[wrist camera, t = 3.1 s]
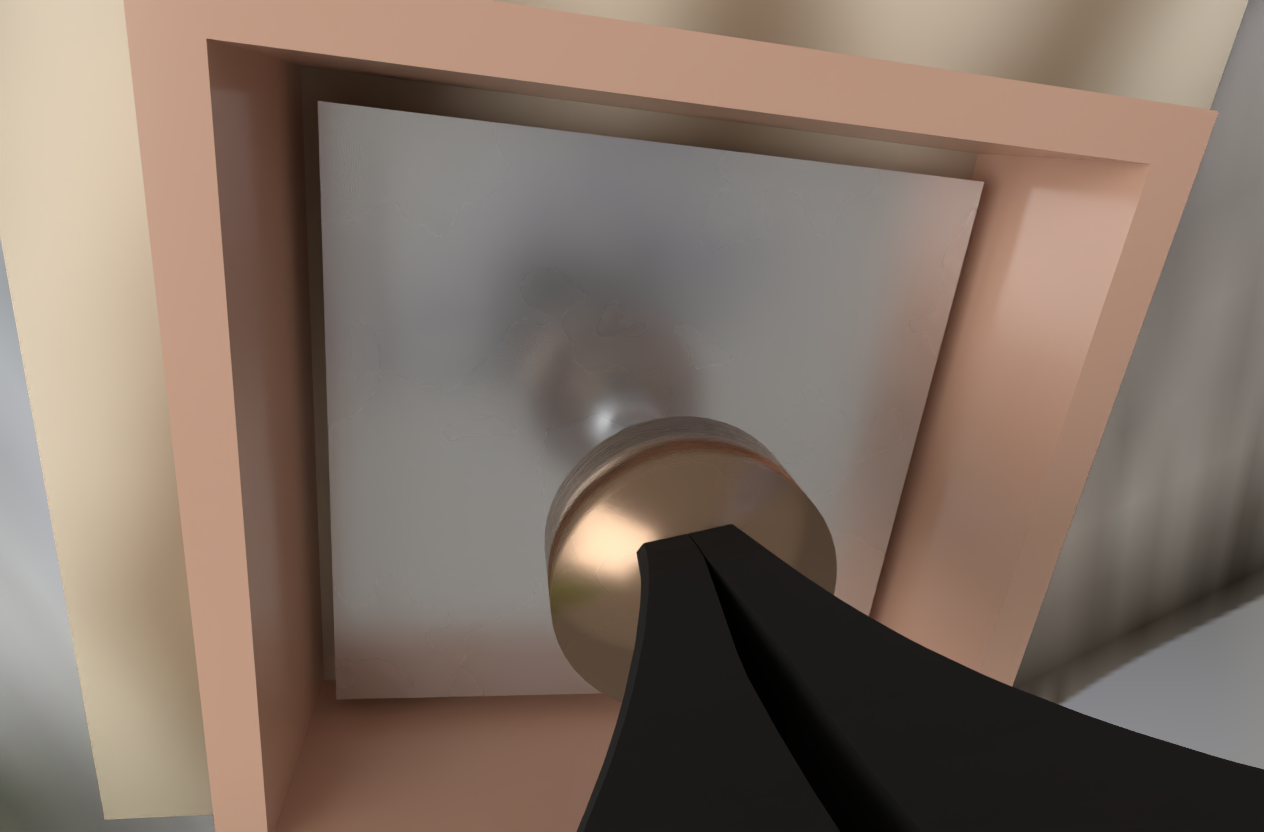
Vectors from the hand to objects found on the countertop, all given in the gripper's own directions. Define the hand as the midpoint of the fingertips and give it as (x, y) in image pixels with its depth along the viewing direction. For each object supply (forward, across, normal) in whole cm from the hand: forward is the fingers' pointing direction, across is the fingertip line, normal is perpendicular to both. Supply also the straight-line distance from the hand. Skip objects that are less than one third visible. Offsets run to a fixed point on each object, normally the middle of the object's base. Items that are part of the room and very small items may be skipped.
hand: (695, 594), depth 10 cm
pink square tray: (+7, 0, 0) cm, 7 cm away
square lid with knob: (+5, 0, 0) cm, 5 cm away
